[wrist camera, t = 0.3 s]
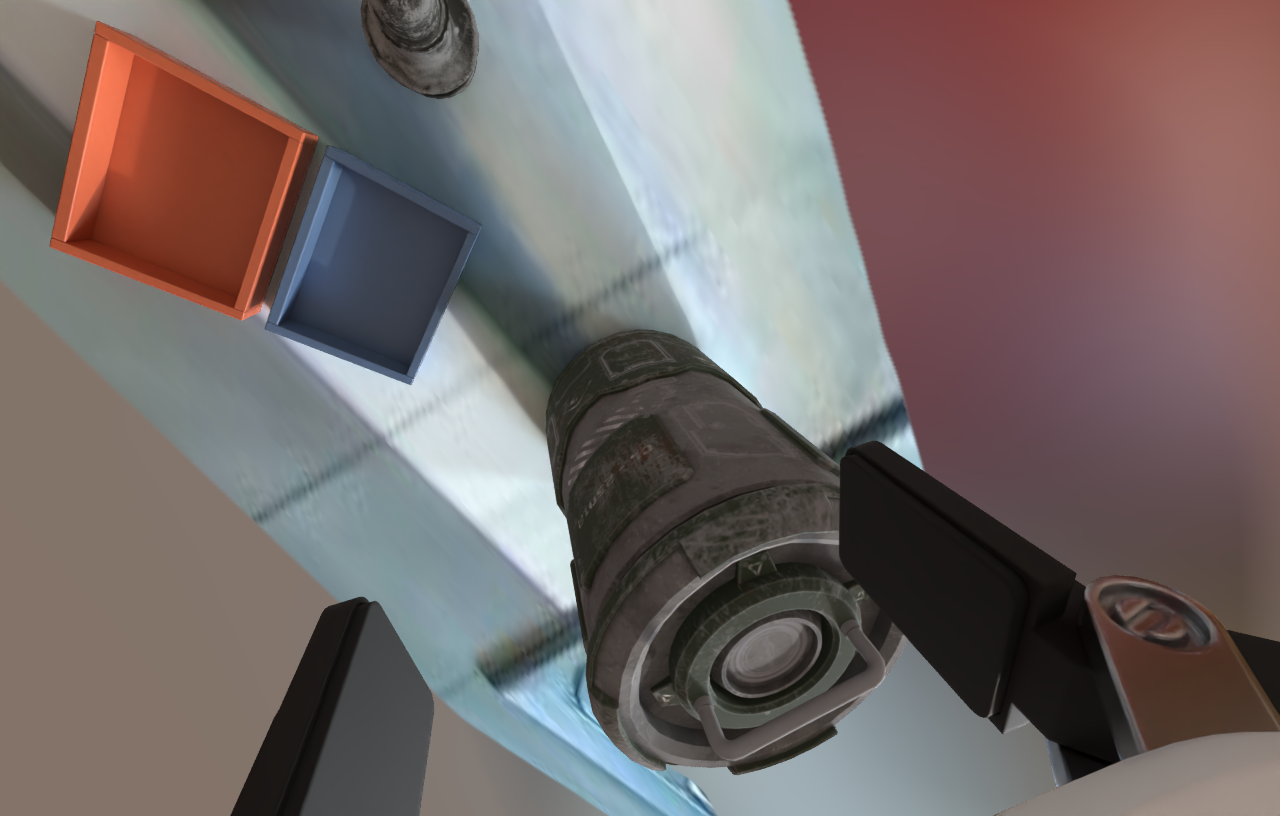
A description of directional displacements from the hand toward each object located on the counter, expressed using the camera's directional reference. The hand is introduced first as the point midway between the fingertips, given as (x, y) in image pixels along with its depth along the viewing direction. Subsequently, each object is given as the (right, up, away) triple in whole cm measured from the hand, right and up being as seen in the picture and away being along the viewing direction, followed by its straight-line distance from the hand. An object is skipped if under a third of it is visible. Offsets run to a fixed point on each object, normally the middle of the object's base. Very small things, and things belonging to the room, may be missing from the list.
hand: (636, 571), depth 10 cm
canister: (0, +3, +33) cm, 33 cm away
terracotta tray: (-26, +17, +20) cm, 37 cm away
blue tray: (-18, +13, +24) cm, 32 cm away
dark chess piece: (-13, +25, +20) cm, 34 cm away
